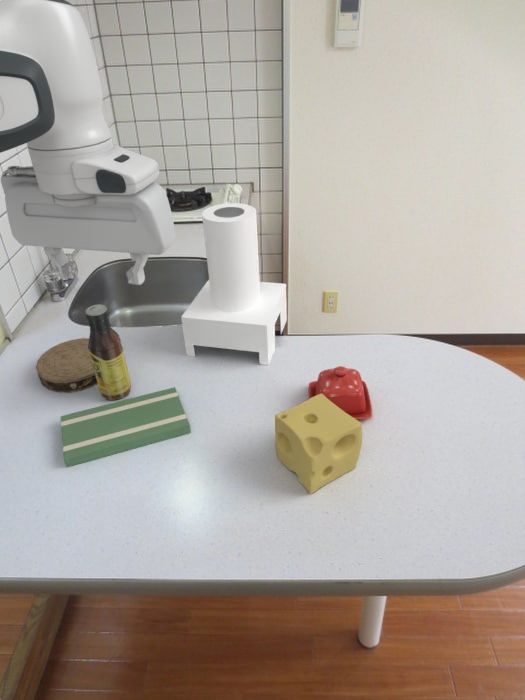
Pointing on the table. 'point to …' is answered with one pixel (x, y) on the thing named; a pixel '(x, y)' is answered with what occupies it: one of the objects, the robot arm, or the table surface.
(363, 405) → the butter dish
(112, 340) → the sauce bottle
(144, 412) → the towel
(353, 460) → the cheese
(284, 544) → the table surface
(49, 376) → the wooden log slice
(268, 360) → the paper towel holder
